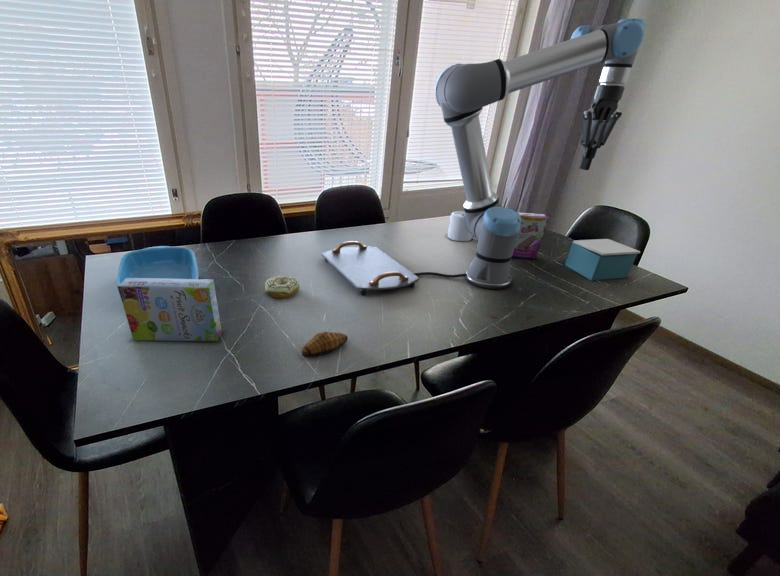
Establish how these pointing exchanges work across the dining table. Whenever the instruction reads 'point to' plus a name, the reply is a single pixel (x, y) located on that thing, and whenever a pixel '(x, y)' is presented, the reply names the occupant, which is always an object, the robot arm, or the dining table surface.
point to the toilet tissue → (458, 227)
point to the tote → (599, 263)
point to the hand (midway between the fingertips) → (584, 169)
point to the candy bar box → (529, 235)
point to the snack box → (171, 309)
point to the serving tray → (369, 267)
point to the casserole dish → (158, 264)
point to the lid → (606, 247)
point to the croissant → (324, 343)
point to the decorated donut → (281, 286)
